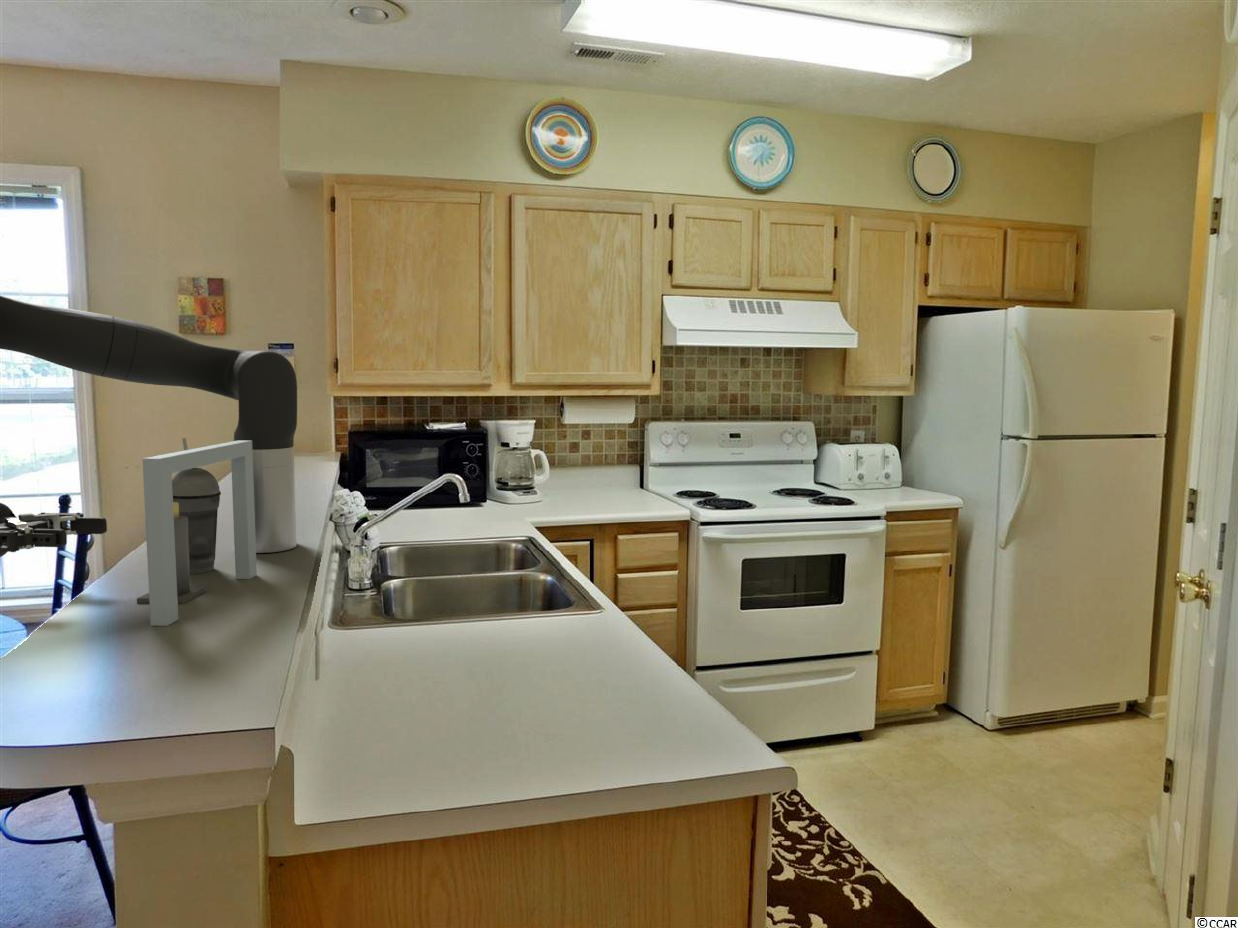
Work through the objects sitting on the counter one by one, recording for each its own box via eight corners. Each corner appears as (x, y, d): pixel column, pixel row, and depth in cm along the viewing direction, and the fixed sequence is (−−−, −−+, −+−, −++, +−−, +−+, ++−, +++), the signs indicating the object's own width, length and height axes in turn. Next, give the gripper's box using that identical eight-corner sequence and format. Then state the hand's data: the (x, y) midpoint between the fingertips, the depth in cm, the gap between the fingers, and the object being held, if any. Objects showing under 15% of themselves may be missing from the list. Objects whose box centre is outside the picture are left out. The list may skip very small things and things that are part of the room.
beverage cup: (209, 576, 125) (203, 440, 123) (160, 575, 125) (153, 439, 123) (232, 564, 132) (228, 436, 130) (186, 564, 132) (180, 435, 130)
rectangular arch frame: (243, 574, 126) (238, 440, 124) (256, 574, 126) (252, 440, 124) (150, 625, 101) (142, 458, 99) (167, 625, 101) (159, 458, 99)
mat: (161, 590, 117) (161, 586, 117) (205, 591, 117) (205, 587, 117) (137, 602, 111) (136, 598, 111) (183, 603, 111) (182, 598, 111)
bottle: (163, 588, 116) (160, 500, 115) (196, 588, 116) (193, 501, 115) (144, 596, 111) (141, 505, 110) (179, 596, 111) (176, 506, 110)
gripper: (-83, 511, 105) (48, 512, 105) (0, 494, 119) (116, 495, 119) (-79, 570, 106) (52, 572, 106) (4, 546, 120) (118, 548, 120)
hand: (85, 531), depth 113 cm, fingers open, 8 cm apart
